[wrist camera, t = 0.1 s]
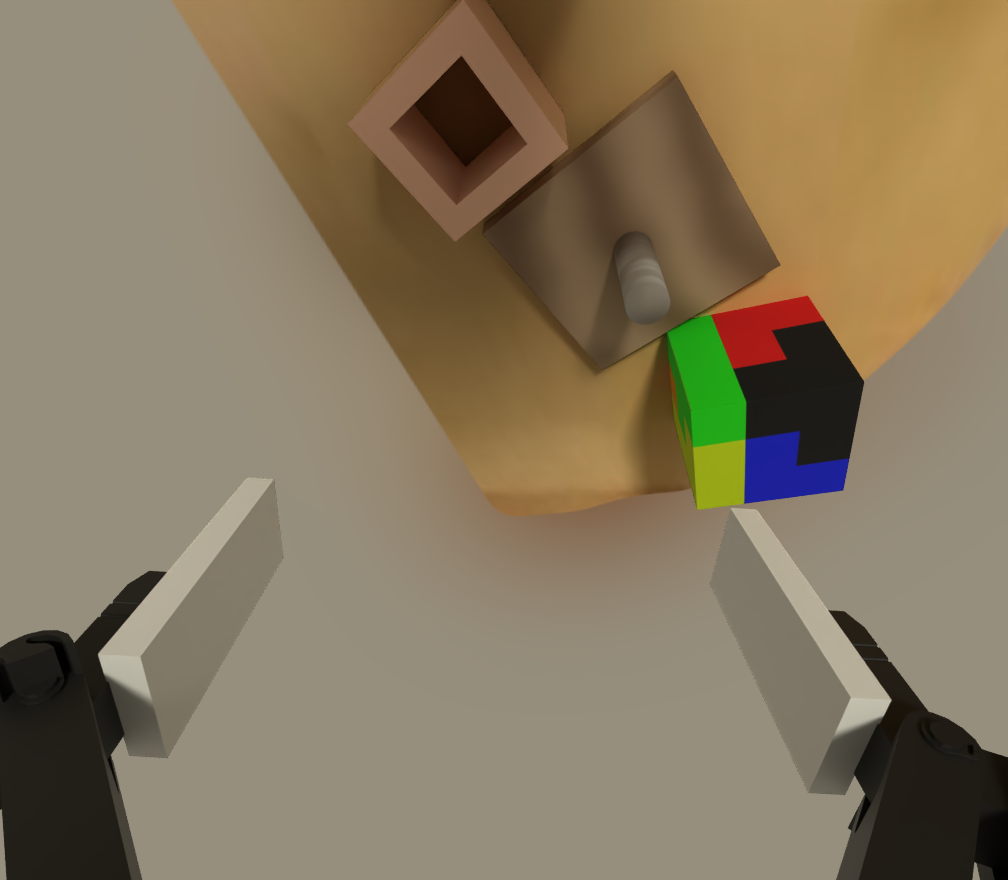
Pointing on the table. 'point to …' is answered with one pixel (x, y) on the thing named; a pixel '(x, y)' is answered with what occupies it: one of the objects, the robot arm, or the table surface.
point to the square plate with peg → (634, 228)
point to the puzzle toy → (762, 403)
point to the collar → (423, 153)
